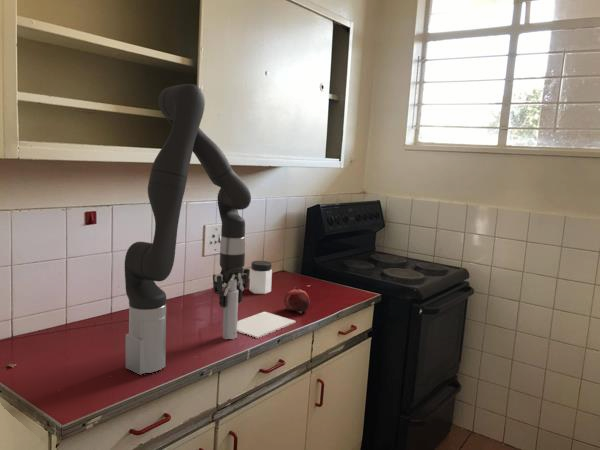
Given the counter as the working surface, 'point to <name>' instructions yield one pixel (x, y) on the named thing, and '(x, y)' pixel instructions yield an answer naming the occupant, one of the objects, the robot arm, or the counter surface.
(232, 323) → the bottle
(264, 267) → the jar
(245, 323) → the tile
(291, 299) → the fruit
